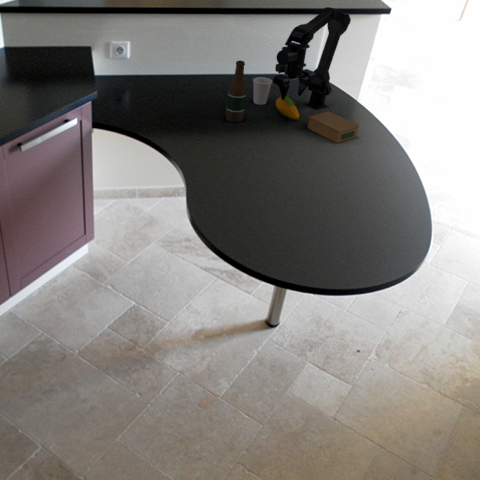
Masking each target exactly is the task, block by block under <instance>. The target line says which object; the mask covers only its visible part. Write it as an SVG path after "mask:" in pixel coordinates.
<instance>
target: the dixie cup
mask: <svg viewBox="0 0 480 480" xmlns="http://www.w3.org/2000/svg"><path fill="white" fill-rule="evenodd" d="M252 81H253V103H254V104H255V105H260V106H264V105H266V104H267V101H268V98H269V95H270V91H271V88H272V87H271V86H272V84H273V79H271V78H269V77H264V76H258V77H254V78H253V79H252Z"/></svg>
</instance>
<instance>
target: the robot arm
mask: <svg viewBox="0 0 480 480" xmlns="http://www.w3.org/2000/svg"><path fill="white" fill-rule="evenodd" d="M351 21H352V19H351V16H350V14H349V13H345V12H341V11H340V10H338V9H337V8H334V7H330V6H326V7H325V8H324V9H322V11H321V12H320V13H318V14H317V15H316V16H315V17H313V18H312V19H311V20H309V21H308V22H306V23H301V24H299V25H297V26H294V28H293V29H292V31H290V34H289V36H288V38H287V39H286V41H285V43H284V46H282V47H281V50H279V51H278V52H277V53H276V62H277V63H276V64H275V67H274V69H275V72H277V73H278V74H277V75H274V76H273V78H272V84H274V85H276V86H278V88H279V92H280V93H279V94H280V96H281V98H282V100H284V99H285V97H286V96H287V95H288V92H289V89H290V83H291V81H295V80H298V90H297V96H299V97H301V96H302V95H303V94H304V91H305V90H306V89H307V91H310V96H309V101H308V102H306V105H308V106H309V107H312V108H313V109H315V110H316V109H317V110H319V109H322V108H326V107H328V105H327V104H325V103H326V98H327V96H329V95H330V94H331V92H332V90H333V88H332V87H331V84H330V80H331V76H330V68H331V65H332V63H333V60H334V56H335V53H336V51H337V48H338V44H339V41H340V39H341V36H342V35H344V34H345V32H347V30H348V28H349V26H350V24H351ZM326 25H327V31H328V34H327V37H326V41H325V43H324V46H323V50H322V52H321V55H320V58H319V61H318V65H317V67H316V68H315V69H314V70H311V69H308V68H305V67H307V63H305V61H306V56H307V50H308V49H309V48H310V47H311V45H309V44H310V42H312V40H313V39H314V36H315V34H316V33H317V32H319V31H320V30H321V29H322V28H324V27H325V26H326ZM304 68H305V69H304ZM283 73H284V74H283Z"/></svg>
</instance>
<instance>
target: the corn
mask: <svg viewBox="0 0 480 480" xmlns="http://www.w3.org/2000/svg"><path fill="white" fill-rule="evenodd" d="M275 108H276V110H277V111H278V113H279V114H280V115H281V116H283V118H285V119H290V120H294V121H300V120H301V119H302V118H301V115H300V113H299V110H298V105H297V103H296V101H295V100H294V99H293V98H292V97H291V96H290V95H286V97H285V99H284V100H282V98H281V95H279V96H277V99H276V100H275Z"/></svg>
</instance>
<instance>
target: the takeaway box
mask: <svg viewBox="0 0 480 480" xmlns="http://www.w3.org/2000/svg"><path fill="white" fill-rule="evenodd" d="M359 128H361V125H359V124H357V123H355V122H353V121H350V120H348V119H346V118H345V117H342V116H340V115H338V114H336V113H334V112H331V111H329V110H328V111H325V112H321V113H317V114H313V115H310V116H309V115H308V124H307V129H308V130H310V131H312V132H314V133H316V134H318V135H320V136H322V137H324V138H326V139H329V140H330V141H332V142H334V143H335V144H339V143H341V142H345V141H349V140H351V139H355V138H357V136H358V131H359Z"/></svg>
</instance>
